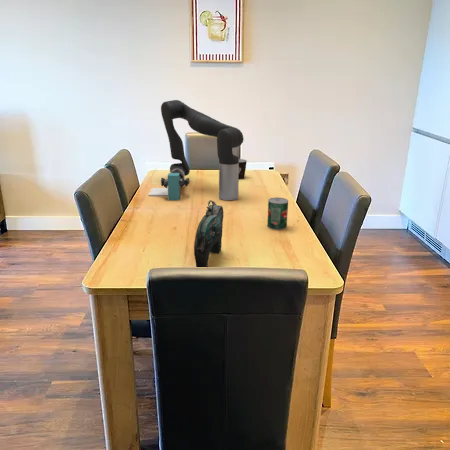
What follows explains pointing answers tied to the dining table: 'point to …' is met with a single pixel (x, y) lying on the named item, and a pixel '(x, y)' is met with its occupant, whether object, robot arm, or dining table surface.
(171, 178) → the teal block
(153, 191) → the white board
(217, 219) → the dark green power tool
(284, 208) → the canned tomato
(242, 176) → the coffee mug
